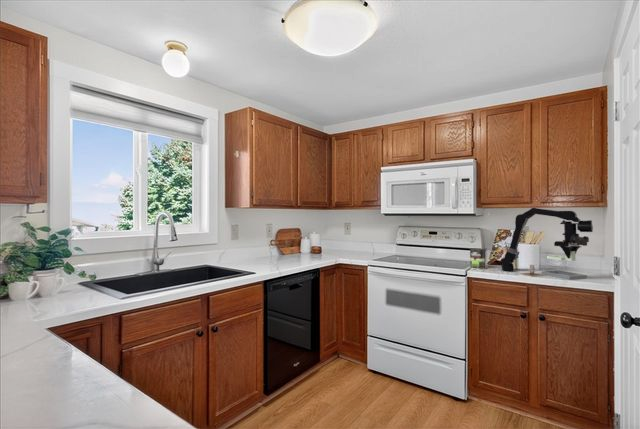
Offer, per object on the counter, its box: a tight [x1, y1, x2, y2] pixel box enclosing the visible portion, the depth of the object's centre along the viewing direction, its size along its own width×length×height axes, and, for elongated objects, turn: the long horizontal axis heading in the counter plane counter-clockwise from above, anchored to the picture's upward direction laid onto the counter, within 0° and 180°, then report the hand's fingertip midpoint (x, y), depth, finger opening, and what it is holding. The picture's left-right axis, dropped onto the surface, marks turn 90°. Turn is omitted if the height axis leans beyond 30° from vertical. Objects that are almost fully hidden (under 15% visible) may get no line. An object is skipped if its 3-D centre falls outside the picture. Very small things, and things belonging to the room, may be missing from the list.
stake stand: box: [517, 264, 547, 278], centre depth 206 cm, size 11×11×7 cm
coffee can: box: [469, 247, 487, 271], centre depth 235 cm, size 10×10×14 cm
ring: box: [546, 251, 576, 262], centre depth 200 cm, size 13×9×6 cm
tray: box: [541, 269, 588, 281], centre depth 200 cm, size 18×14×3 cm
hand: (570, 257), depth 195 cm, fingers closed on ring, 3 cm apart
